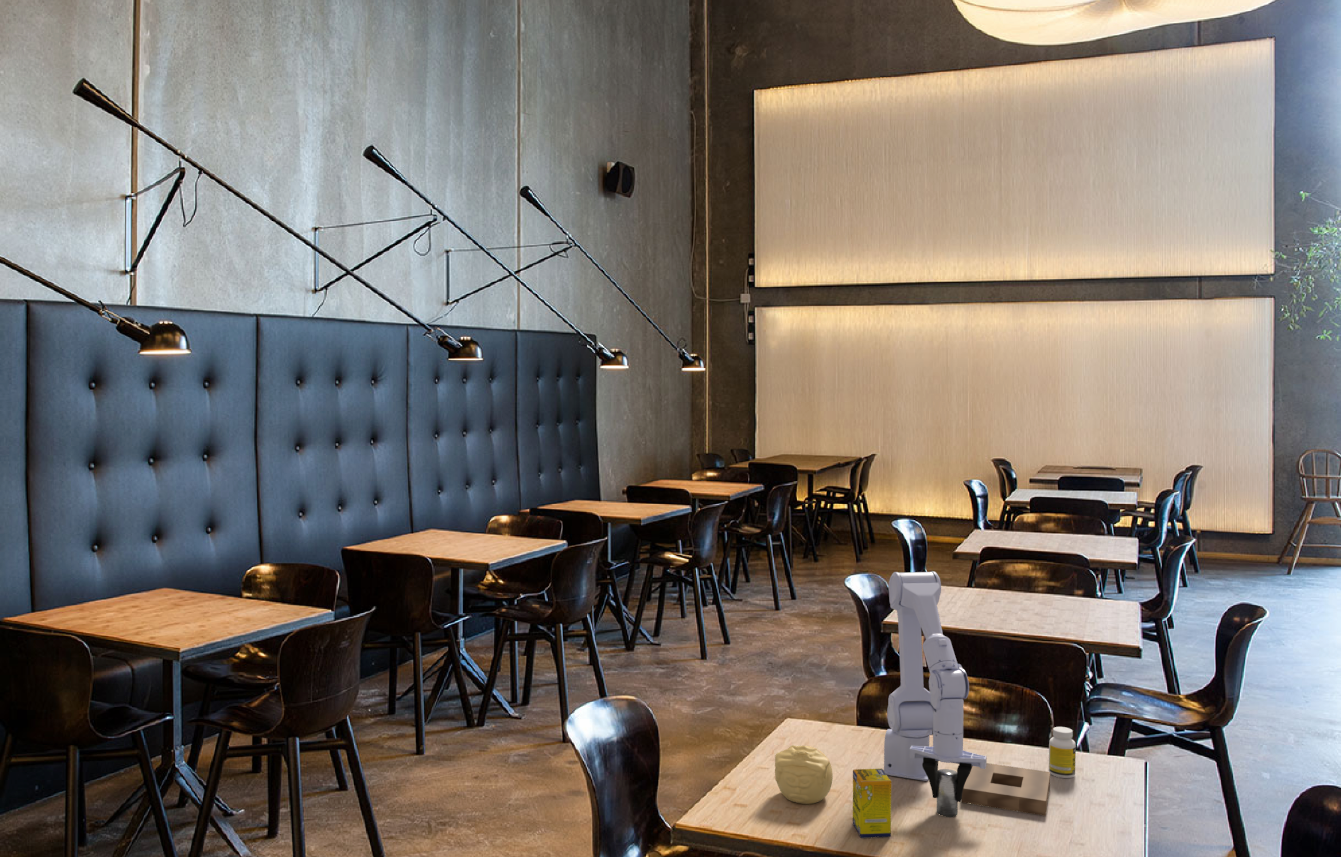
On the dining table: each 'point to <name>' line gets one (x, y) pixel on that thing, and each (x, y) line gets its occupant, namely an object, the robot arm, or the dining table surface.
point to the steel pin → (947, 792)
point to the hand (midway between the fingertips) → (947, 798)
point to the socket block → (1008, 788)
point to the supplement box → (871, 803)
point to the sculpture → (803, 774)
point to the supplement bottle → (1062, 753)
